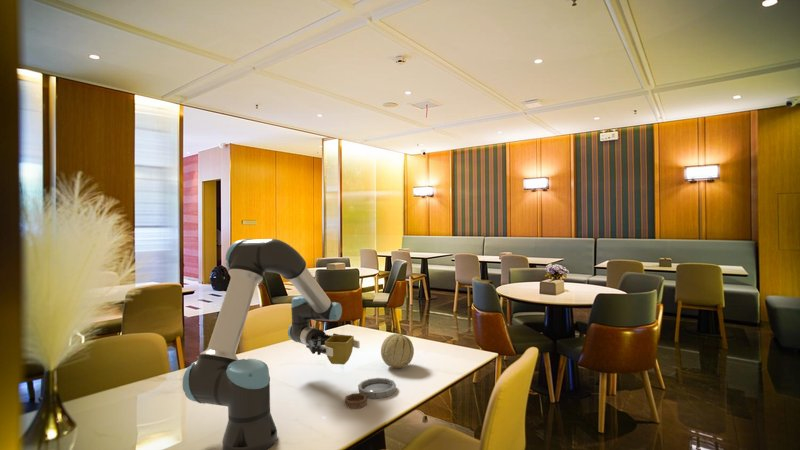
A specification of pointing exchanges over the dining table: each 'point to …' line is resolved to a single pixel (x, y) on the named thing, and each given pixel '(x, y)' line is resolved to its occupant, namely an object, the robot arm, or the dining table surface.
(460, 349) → the dining table surface
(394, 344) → the cantaloupe
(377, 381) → the grey saucer
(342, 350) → the flower pot
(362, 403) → the brown octagonal saucer
